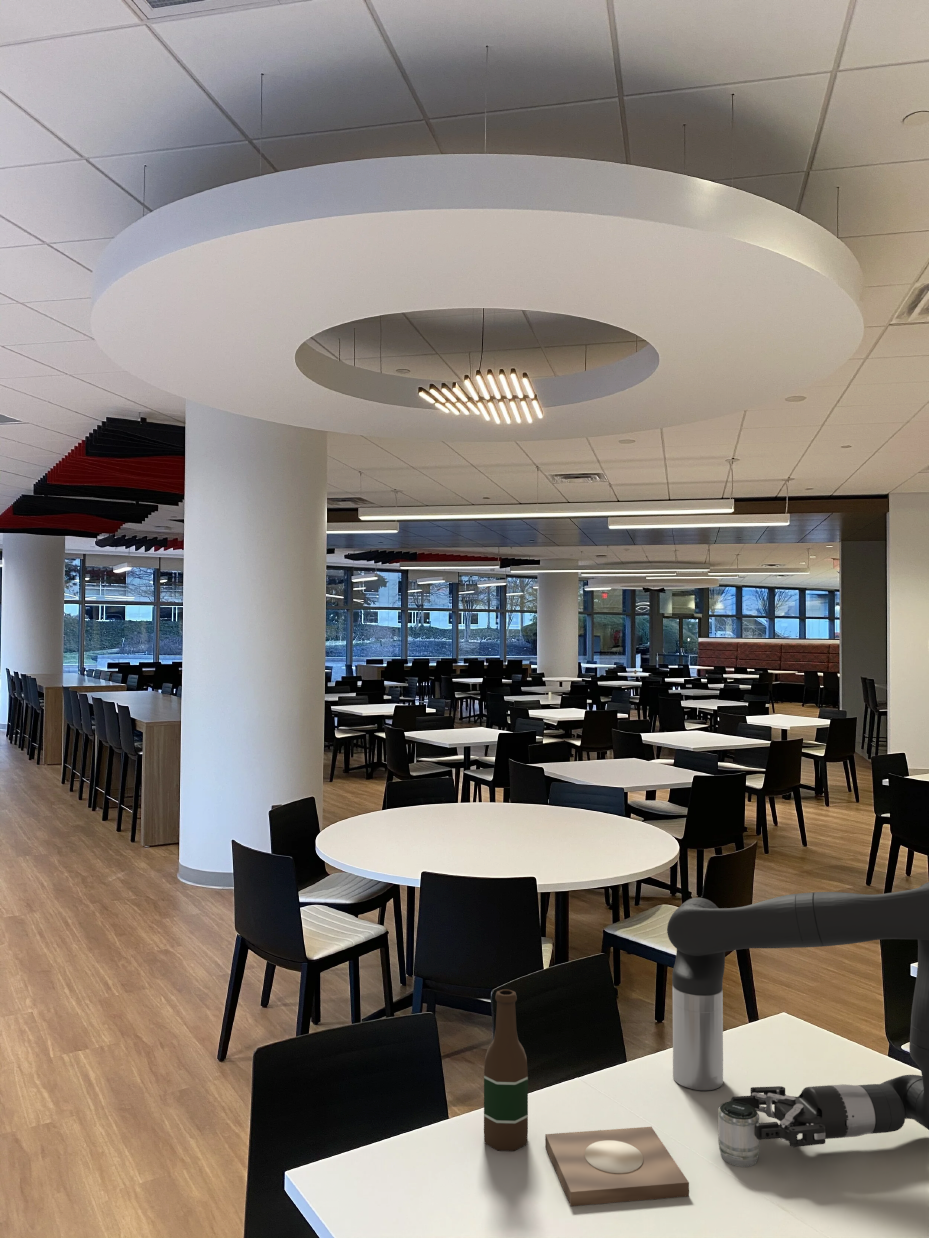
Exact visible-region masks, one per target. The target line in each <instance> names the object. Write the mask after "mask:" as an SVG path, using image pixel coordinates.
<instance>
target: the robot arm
mask: <svg viewBox="0 0 929 1238" xmlns="http://www.w3.org/2000/svg"><path fill="white" fill-rule="evenodd" d="M666 932H667V933H666V934H667V937H668V940H669V941H670V943H671V944H672V945H673V946H674V948H675V949H676V952H675V954H676V955H675V960H674V961H675V962H674V965H673V968H672V1078H673V1080H674V1081H675V1082H676V1083H677V1084H679V1085H680V1086H682V1087H685V1088H687V1089H691V1090H696V1091H711V1090H712V1091H713V1090H716V1089H718V1088H720V1087H722V1086H723V1084H724V1017H723V1016H724V1011H723V1010H724V1009H723V1008H724V1007H723V1005H724V1004H723V1002H724V999H723V995H724V994H723V993H724V992H723V983H724V982H723V981H724V980H723V979H724V974H725V968H726V967H725V966H726V963H725V962H726V952H730V951H738V950H743V949H744V950H745V949H746V950H747V949H792V948H795V949H797V948H798V949H799V948H800V949H801V948H804V949H806V948H821V947H824V948H825V947H833V946H845V945H852V944H859V943H865V942H871V941H879V940H917V946H918V947H917V969H916V977H915V978H916V979H915V985H914V992H913V998H912V999H913V1000H912V1005H911V1015H910V1031H909V1032H910V1033H909V1045H908V1046H909V1055H910V1057H911V1060H912V1061H913V1062H914V1063H915V1065H917V1066H918V1068H919V1070H920V1073H921V1075H919V1074H903V1075H900V1076H897V1077H894V1078H891V1079H888V1080H886V1081H884V1082H882V1083H881V1082H880V1083H873V1084H872V1083H871V1084H857V1085H856V1084H831V1085H829V1084H828V1085H815V1086H806V1087H804V1088H803V1089H802V1090H801V1093H800V1094H799V1095H798V1096H793V1095H787V1094H786V1087H784V1086H752V1087H750V1095H740V1096H732V1097H731V1098H730V1101H738V1102H743V1103H746V1104H749V1105H751V1106H752V1107H753V1108H755V1110H756V1111H757V1112H758V1113H759V1112H760V1113H764V1114H765V1115H766V1117H767V1118H771V1119H774V1120H775V1119H776V1120H777V1121H778V1122H777V1121H770V1122H769V1121H768V1122H759V1123H756V1124H755V1126H754V1130H755V1137H756V1138H757V1139H758V1140H759V1141H762V1140H776V1139H779V1140H780V1141H782V1142H788V1143H789V1147H792V1148H800V1147H808V1146H817V1145H825V1144H826V1140H829V1139H830V1140H831V1139H843V1138H844V1139H845V1138H855V1137H860V1136H864V1135H871V1134H882V1133H883V1134H884V1133H892V1132H897V1131H898V1130H899V1131H900V1130H901V1129H902V1128H903V1126H904V1124H905V1122H906V1120H914V1121H915V1122H917V1123H918V1124H919V1125H921V1126H922V1127H924V1128H925V1129H926V1130H928V1131H929V881H927V882H925V883H924V884H922V885H920V886H919V887H916V888H913V889H912V888H911V889H906V890H900V891H895V892H887V893H878V894H864V893H863V894H862V893H855V892H853V893H852V892H841V891H840V892H839V891H815V892H814V891H813V892H803V893H801V892H800V893H791V894H785V895H781V896H775V897H774V898H773V897H772V898H769V899H766V900H762V901H759V902H756V903H752V904H748V905H744V906H737V907H730V908H727V907H724V908H723V907H722V908H719V907H718V906H717V905H716V904H715V903H714V902H713V901H711V900H709V899H707V898H704V897H703V898H702V897H693V898H689V899H687V900H686V901H684V902H683V903H682V904H681V905H680V906H679V907H677V909H676V910H675V911H674V912H673V913H672V914H671V916H670V918H669V921H668V923H667V928H666ZM773 1105H774V1106H773ZM773 1109H774V1110H773ZM799 1135H801V1138H798V1136H799Z"/></svg>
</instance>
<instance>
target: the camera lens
mask: <svg viewBox="0 0 929 1238" xmlns="http://www.w3.org/2000/svg"><path fill="white" fill-rule="evenodd" d="M717 1112H718V1113H717V1114H718V1115H717V1120H718V1121H717V1122H718V1123H717V1124H718V1125H717V1126H718V1127H717V1128H718V1131H717V1132H718V1147H719V1148H718V1149H719V1152H720V1157H721V1158H722V1160H724V1161H725V1162H726V1163H728V1164H730V1165H732V1166H736V1167H742V1168H744V1167H747V1168H748V1167H751V1166H755V1165H756V1164H757V1162H758V1157H759V1153H760V1140H758V1139H757V1138H756V1137H755V1130H754V1126H755V1124H756V1123H760V1115H759V1111H756V1110H755V1108H753V1107H752V1106H751V1105H749V1104H746V1103H743V1102H738V1101H731V1100H729V1101H725V1102H723V1103H721V1104H720V1106H719V1107H718V1109H717Z"/></svg>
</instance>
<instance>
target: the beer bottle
mask: <svg viewBox="0 0 929 1238" xmlns="http://www.w3.org/2000/svg"><path fill="white" fill-rule="evenodd" d="M517 997H518V996H517V993H516V991H514V990H511V989H499V990H497V991H496V993H495V999H494V1000H495V1001H496V1013H495V1014H496V1016H495V1017H496V1018H495V1031H494V1037H493V1040H492V1041H491V1042H490V1044H489V1046H488V1048H487V1050H486V1053H485V1057H484V1068H483V1139H484V1144H485V1145H488V1146H489V1147H490V1148H492V1149H494V1150H496V1151H497V1152H498V1151H505V1152H507V1151H508V1152H515V1151H517V1150H519V1149H521V1148H523V1147H525V1146H527V1145H528V1144H527V1143H528V1133H529V1125H528V1124H529V1097H528V1096H529V1072H528V1059H527V1054H526V1051H525V1049H524V1047H523V1045H522V1043H521V1042H520V1041H519V1037H518V1031H517V1015H516V1002H517V1001H518V998H517Z"/></svg>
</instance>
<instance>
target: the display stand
mask: <svg viewBox="0 0 929 1238" xmlns="http://www.w3.org/2000/svg"><path fill="white" fill-rule="evenodd" d="M544 1136H545V1137H544V1138H545V1139H544V1140H545V1143H544V1145H545V1149H546V1151H547V1155H548V1156H549V1158H550V1161H551V1163H552V1166H553V1168H554V1170H555V1172H556V1174H557V1176H558V1179H559V1183H560V1185H561V1187H562V1189H563V1191H564V1193H565V1196H566V1198H567V1200H568V1203H569V1206H570V1207H576V1206H587V1205H600V1204H610V1203H611V1204H613V1203H626V1202H636V1201H648V1200H650V1201H651V1200H658V1199H659V1200H660V1199H672V1198H673V1199H674V1198H681V1197H682V1198H684V1197H690V1182H689V1180H688V1179H687V1177H686V1176H685V1174H684V1173H683V1171H682V1170H681V1168H680V1167H679V1166H678V1164H677V1162H676V1161H675V1160H674V1158H673V1156H672V1155H671V1153H670V1152H669V1151H668V1149H667V1147H666V1146H665V1145H664V1143H663V1141H662V1140H661V1138H660V1137H659V1135H658V1134H657V1132H656V1131H655V1130H654V1128H653V1127H652V1126H641V1127H625V1128H615V1129H614V1128H613V1129H602V1130H601V1129H600V1130H587V1131H573V1132H570V1131H569V1132H559V1133H558V1132H557V1133H545V1135H544Z"/></svg>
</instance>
